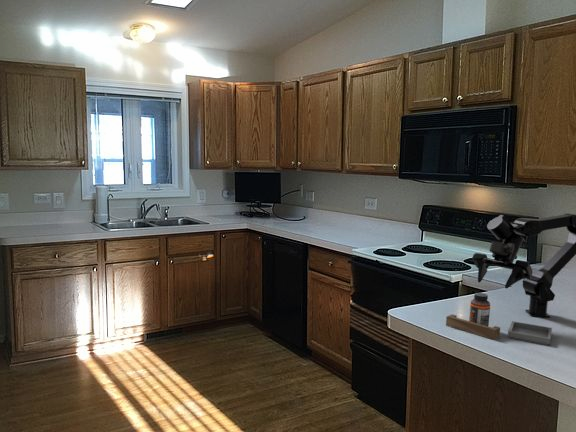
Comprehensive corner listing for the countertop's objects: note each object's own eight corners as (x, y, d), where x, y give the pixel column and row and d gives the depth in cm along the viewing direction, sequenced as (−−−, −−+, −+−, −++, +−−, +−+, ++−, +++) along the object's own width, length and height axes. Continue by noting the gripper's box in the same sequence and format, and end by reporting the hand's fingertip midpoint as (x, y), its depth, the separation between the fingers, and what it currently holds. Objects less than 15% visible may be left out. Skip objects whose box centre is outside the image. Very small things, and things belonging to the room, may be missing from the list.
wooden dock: (451, 323, 167) (452, 314, 166) (499, 337, 155) (500, 327, 154) (445, 325, 164) (446, 316, 164) (494, 339, 152) (494, 330, 152)
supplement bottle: (465, 325, 165) (468, 291, 164) (483, 325, 166) (485, 291, 164) (473, 331, 159) (476, 296, 158) (491, 331, 160) (494, 296, 158)
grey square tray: (511, 327, 164) (512, 321, 164) (551, 334, 159) (551, 327, 159) (507, 337, 154) (508, 331, 154) (549, 345, 149) (550, 339, 149)
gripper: (476, 229, 174) (458, 264, 168) (532, 237, 160) (514, 275, 154) (485, 249, 180) (468, 284, 174) (539, 258, 167) (522, 296, 161)
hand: (491, 284), depth 166 cm, fingers open, 9 cm apart
